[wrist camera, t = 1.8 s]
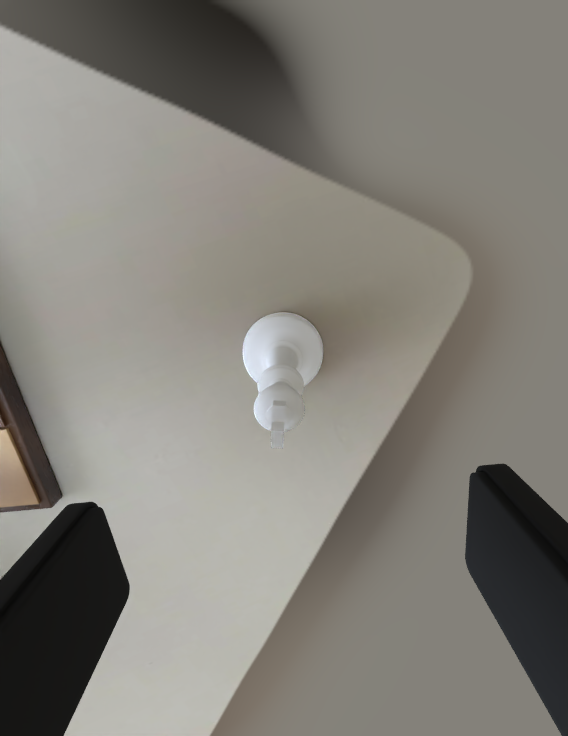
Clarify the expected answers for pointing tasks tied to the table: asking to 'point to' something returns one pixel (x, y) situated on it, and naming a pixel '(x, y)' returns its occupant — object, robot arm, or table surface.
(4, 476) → the board
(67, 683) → the robot arm
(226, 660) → the table surface
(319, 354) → the chess piece
